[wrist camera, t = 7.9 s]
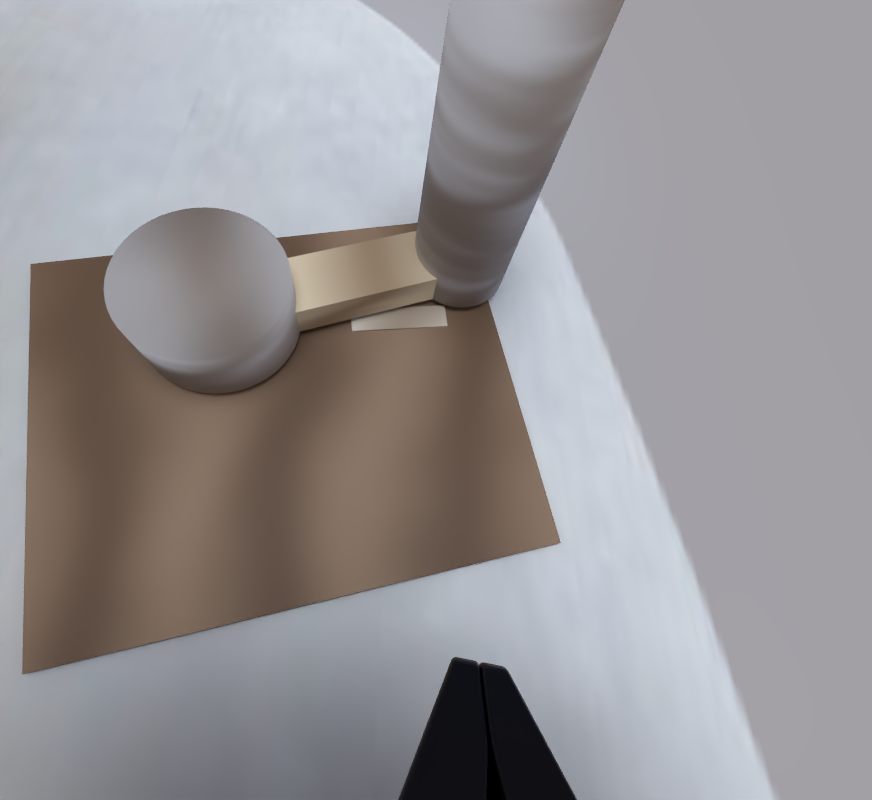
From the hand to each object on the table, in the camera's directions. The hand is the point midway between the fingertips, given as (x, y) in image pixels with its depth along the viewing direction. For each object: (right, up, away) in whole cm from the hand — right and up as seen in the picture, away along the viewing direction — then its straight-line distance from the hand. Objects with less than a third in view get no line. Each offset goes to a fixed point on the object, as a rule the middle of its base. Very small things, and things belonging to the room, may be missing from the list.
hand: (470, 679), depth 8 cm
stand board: (-6, +4, +12) cm, 15 cm away
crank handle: (-5, +9, +14) cm, 17 cm away
